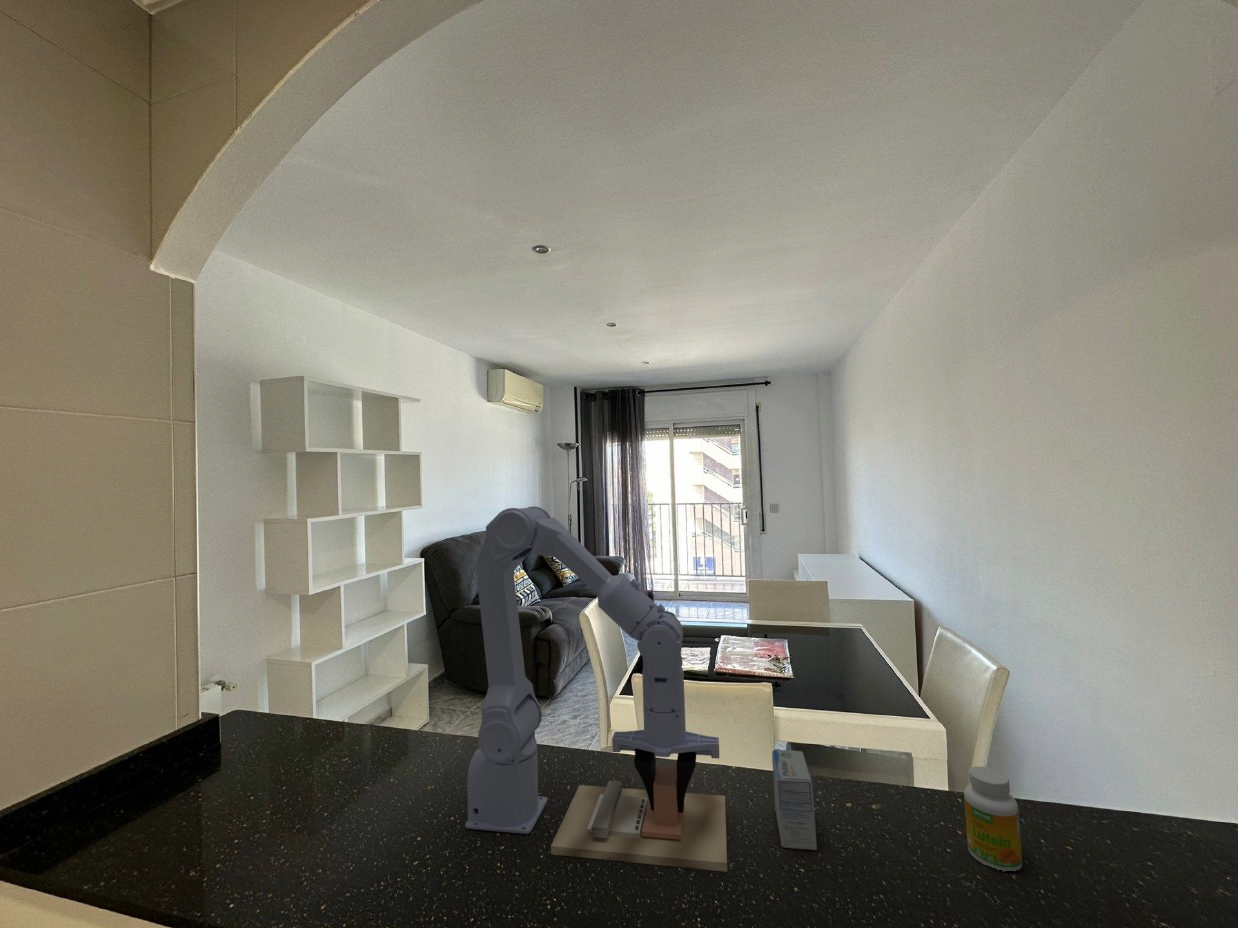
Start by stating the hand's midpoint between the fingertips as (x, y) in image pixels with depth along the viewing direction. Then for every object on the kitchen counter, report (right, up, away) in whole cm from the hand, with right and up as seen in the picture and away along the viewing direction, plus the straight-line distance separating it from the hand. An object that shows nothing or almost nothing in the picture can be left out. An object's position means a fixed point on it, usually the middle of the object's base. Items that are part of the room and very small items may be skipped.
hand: (667, 807), depth 70 cm
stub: (0, -1, 0) cm, 2 cm away
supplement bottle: (+39, -1, -7) cm, 40 cm away
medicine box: (+17, -3, -1) cm, 17 cm away
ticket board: (-3, -3, 0) cm, 4 cm away
